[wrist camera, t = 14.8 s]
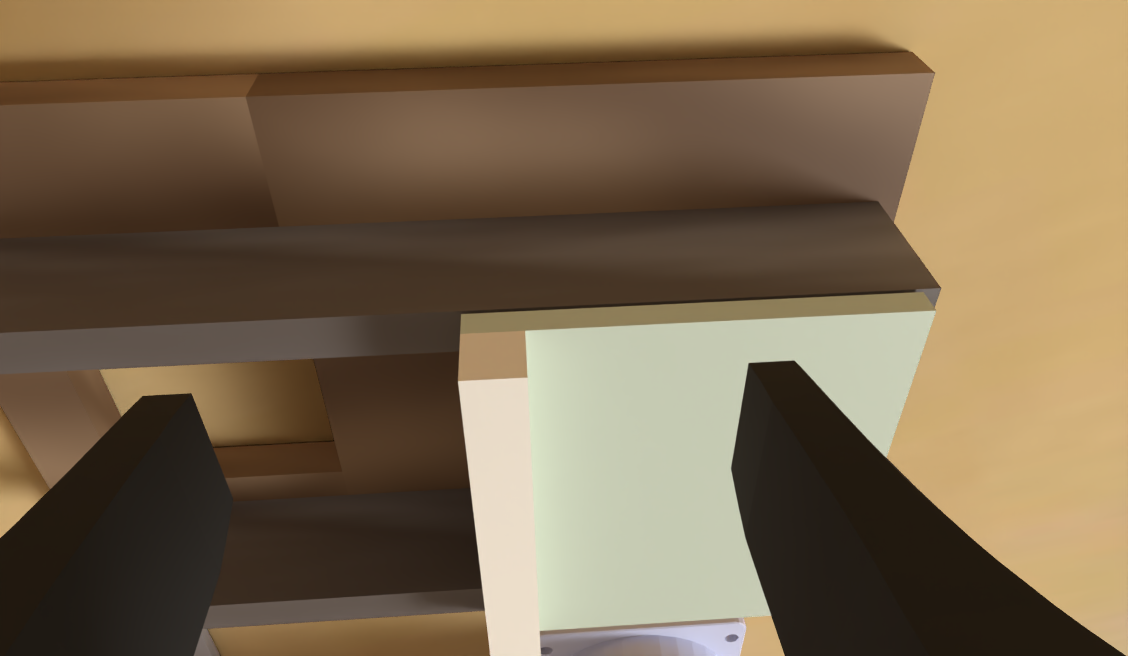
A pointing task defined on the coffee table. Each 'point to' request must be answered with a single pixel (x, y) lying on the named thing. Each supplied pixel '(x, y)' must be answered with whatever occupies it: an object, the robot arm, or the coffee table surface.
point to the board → (412, 263)
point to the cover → (646, 447)
